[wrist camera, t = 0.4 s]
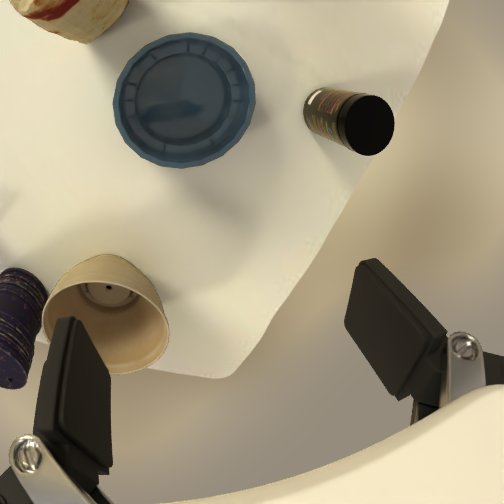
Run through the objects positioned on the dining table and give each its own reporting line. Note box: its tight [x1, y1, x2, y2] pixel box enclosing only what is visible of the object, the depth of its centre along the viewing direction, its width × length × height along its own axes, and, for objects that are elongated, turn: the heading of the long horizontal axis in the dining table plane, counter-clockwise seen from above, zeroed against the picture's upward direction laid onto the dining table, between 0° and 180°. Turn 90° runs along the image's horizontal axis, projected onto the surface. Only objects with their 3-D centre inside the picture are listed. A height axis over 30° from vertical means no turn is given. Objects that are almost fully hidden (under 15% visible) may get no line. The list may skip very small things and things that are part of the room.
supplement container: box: [303, 88, 394, 156], centre depth 32 cm, size 7×7×10 cm
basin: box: [113, 33, 255, 169], centre depth 29 cm, size 14×14×6 cm
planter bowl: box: [42, 255, 169, 375], centre depth 36 cm, size 16×16×11 cm
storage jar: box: [0, 268, 48, 389], centre depth 31 cm, size 10×10×15 cm
